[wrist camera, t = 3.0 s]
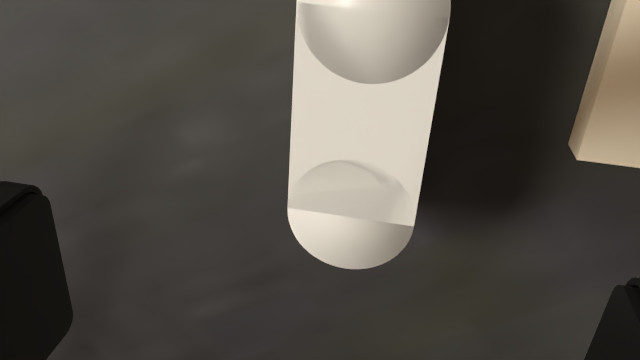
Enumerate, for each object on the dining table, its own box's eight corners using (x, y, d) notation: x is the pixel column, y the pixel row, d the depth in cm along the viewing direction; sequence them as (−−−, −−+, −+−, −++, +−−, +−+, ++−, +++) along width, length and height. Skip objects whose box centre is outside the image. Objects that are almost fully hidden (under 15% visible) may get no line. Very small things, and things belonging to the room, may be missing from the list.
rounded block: (409, 201, 25) (405, 277, 20) (312, 188, 26) (285, 259, 21) (455, -80, 20) (464, -67, 15) (331, -90, 20) (300, -82, 15)
